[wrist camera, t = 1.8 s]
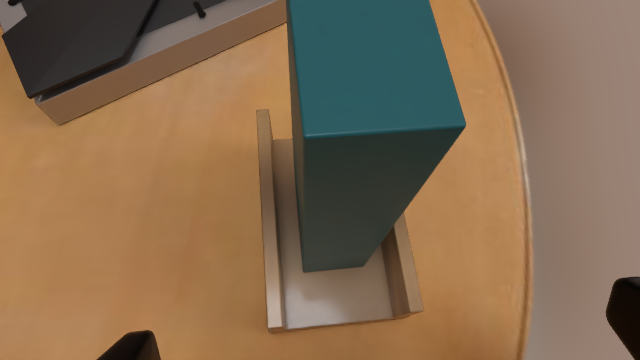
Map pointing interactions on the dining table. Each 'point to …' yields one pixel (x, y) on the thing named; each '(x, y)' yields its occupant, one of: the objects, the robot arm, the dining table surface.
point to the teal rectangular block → (364, 120)
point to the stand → (331, 285)
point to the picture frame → (119, 44)
